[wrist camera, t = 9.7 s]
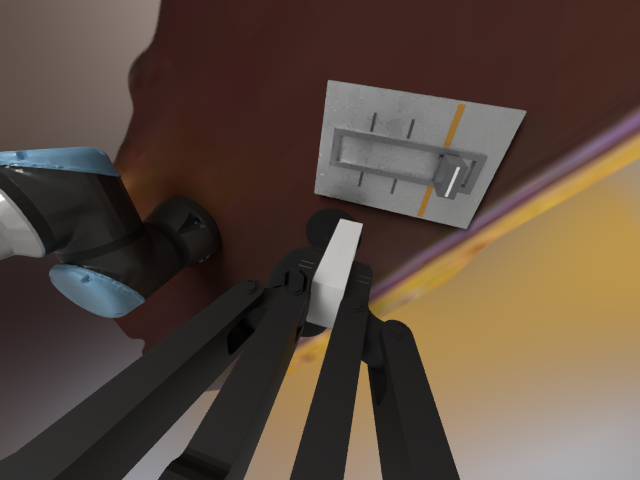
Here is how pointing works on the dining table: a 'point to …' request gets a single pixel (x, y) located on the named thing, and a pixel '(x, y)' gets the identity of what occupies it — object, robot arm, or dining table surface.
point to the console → (409, 149)
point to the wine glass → (319, 238)
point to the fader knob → (449, 176)
